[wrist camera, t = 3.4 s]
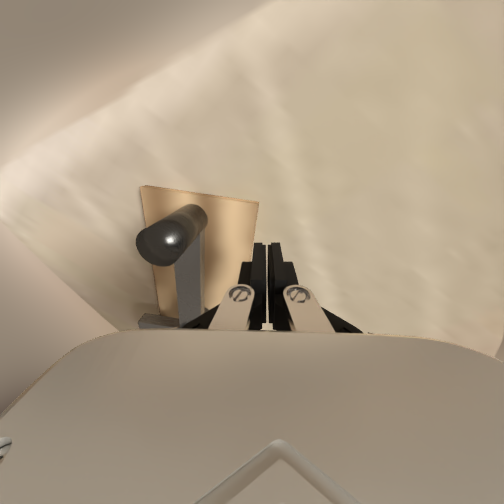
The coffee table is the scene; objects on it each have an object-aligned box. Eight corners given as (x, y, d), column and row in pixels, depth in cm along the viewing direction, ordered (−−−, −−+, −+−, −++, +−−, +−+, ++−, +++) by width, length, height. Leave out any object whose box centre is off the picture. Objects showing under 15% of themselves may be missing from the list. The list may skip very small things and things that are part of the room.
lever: (216, 203, 19) (184, 232, 12) (212, 328, 29) (193, 388, 21) (127, 190, 19) (38, 211, 12) (152, 319, 29) (112, 376, 21)
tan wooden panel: (259, 202, 20) (257, 214, 16) (236, 357, 34) (231, 388, 30) (146, 185, 20) (111, 193, 16) (169, 347, 34) (154, 377, 30)
